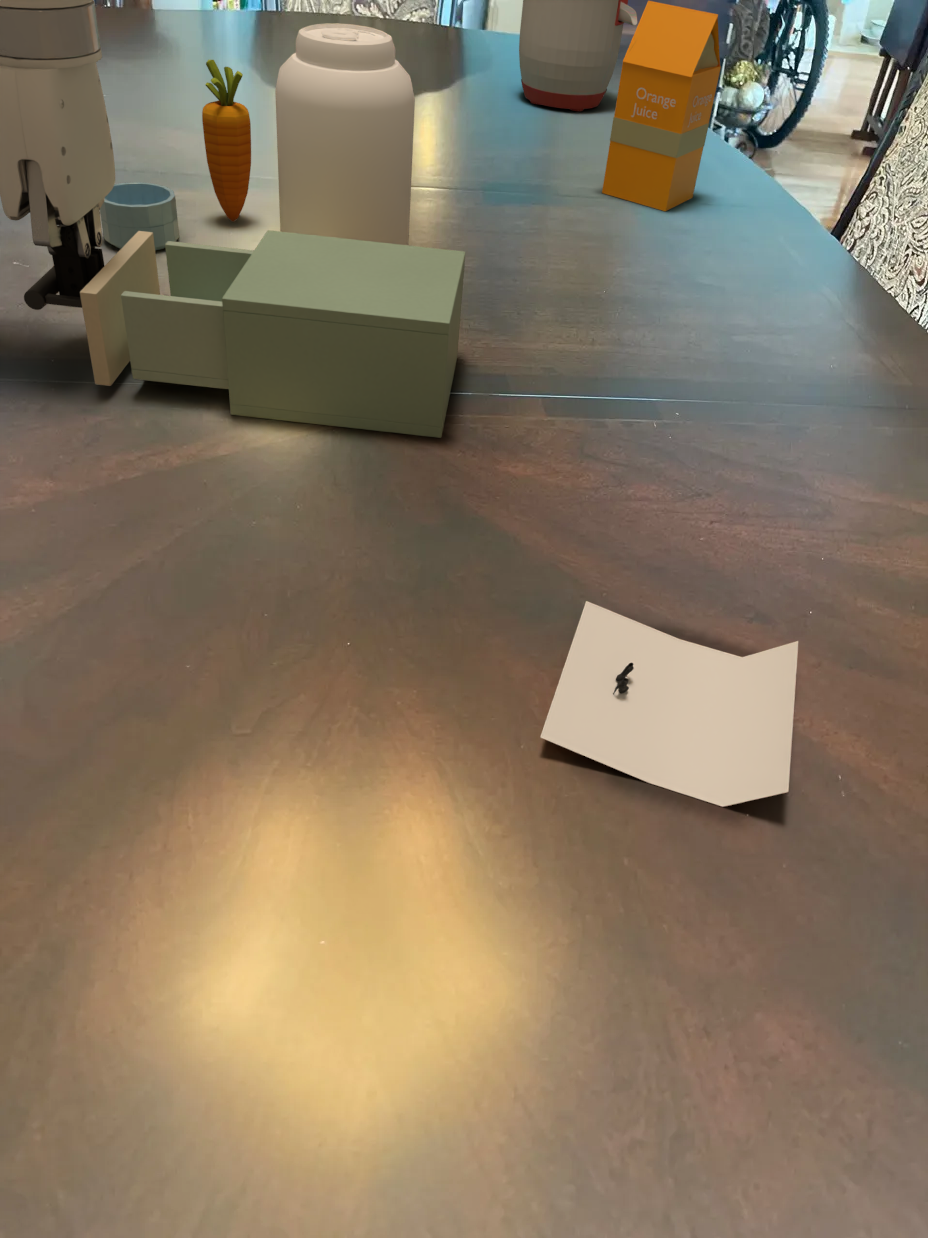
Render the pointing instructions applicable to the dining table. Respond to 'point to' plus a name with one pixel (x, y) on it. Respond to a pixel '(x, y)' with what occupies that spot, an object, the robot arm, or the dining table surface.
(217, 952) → the dining table surface
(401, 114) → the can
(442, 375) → the grey-green cabinet box
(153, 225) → the bowl
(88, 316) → the drawer
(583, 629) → the folded paper
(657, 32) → the orange juice
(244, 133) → the carrot
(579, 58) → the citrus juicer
